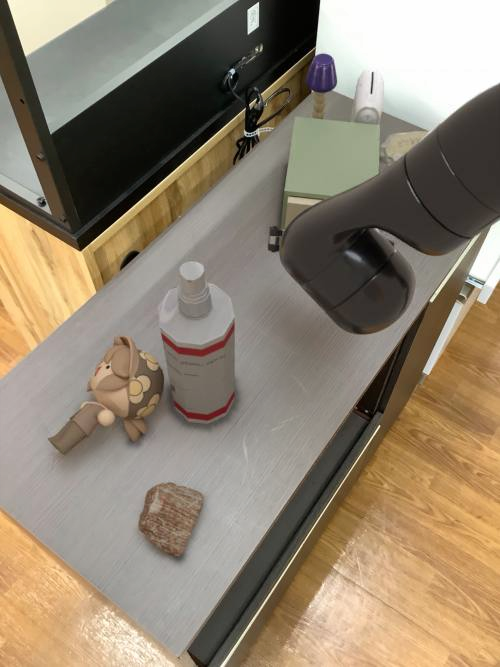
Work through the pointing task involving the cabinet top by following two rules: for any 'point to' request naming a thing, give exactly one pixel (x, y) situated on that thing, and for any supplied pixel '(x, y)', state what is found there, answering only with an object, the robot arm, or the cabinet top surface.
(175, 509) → the stone
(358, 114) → the photo printer
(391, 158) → the fossil replica
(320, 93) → the toy lamp
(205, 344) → the spray bottle
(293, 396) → the cabinet top surface
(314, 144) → the cabinet
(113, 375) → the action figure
